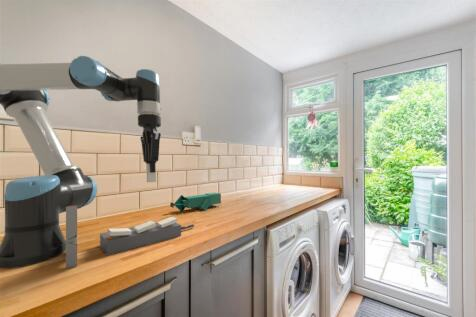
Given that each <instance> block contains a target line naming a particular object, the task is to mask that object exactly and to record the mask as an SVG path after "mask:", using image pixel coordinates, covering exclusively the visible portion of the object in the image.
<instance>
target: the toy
mask: <svg viewBox="0 0 476 317" xmlns="http://www.w3.org/2000/svg"><path fill="white" fill-rule="evenodd" d="M221 203H222V194H221V193H220V192H208V193H204V194H195V195H190V196H189V195H187V196H184V195H182V194H181V195H180V196H179V197H178V199H177V200H176V201H175V202H173V201H172V202H170V204H169V206H170V208H174V207H176V209H178V210H179V211H180V212H182V213H183V211H184V210H185V208H186V209H192V208H196V209H200V210H202V211H204V212H205V211H207V210H208V208H210V207H213V205H219V204H221Z"/></svg>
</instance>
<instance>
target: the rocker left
mask: <svg viewBox="0 0 476 317" xmlns="http://www.w3.org/2000/svg"><path fill="white" fill-rule="evenodd" d="M129 228H130V227H126V228H125V227H124V228H121V227H120V228H118V227H117V228H108V229H107V231H106V232H107V233H108V234H109V235H110V236H118V235H131V234H132V231H131V230H130V229H129Z"/></svg>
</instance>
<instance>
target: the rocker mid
mask: <svg viewBox="0 0 476 317" xmlns="http://www.w3.org/2000/svg"><path fill="white" fill-rule="evenodd" d="M155 226H156V222H155V221H153V220H149V221H146V222H143V223H141V224H138V225H136V226H133V227H134V231H136V232H137V233H140V232H143V231H145V230H148V229H150V228H153V227H155Z"/></svg>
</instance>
